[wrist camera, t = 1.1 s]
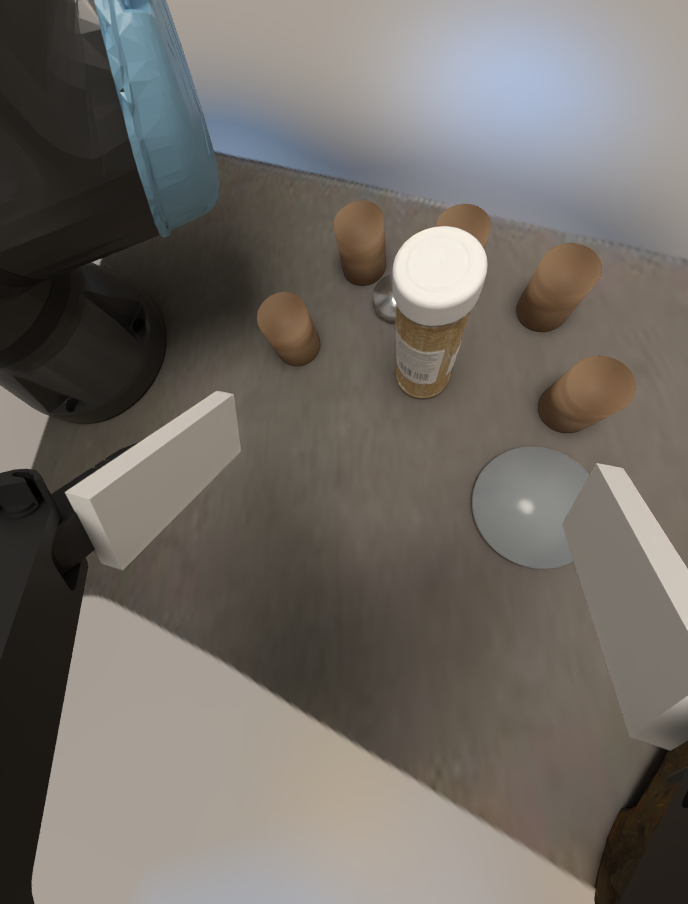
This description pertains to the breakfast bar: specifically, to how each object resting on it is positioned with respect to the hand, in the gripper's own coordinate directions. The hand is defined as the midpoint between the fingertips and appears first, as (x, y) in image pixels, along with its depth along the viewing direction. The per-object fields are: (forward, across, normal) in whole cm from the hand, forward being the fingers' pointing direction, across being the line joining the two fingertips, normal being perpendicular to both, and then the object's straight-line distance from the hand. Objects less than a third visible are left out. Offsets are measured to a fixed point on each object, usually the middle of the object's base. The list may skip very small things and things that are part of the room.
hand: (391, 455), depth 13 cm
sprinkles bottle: (+18, 0, -4) cm, 19 cm away
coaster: (+12, +10, -10) cm, 19 cm away
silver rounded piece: (+23, -4, +1) cm, 23 cm away
